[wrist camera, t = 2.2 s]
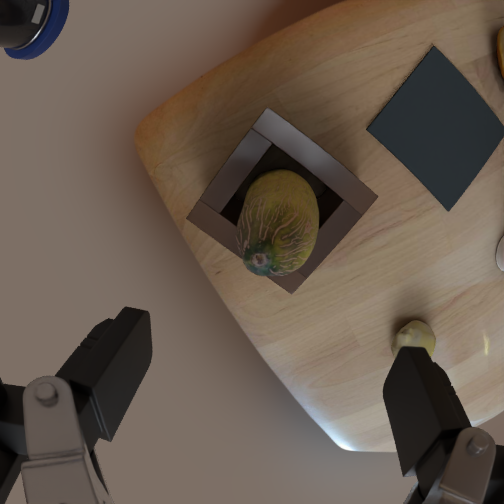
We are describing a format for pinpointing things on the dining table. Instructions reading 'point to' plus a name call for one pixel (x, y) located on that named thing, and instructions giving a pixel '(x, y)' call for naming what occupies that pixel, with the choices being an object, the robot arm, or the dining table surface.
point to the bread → (500, 50)
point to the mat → (439, 128)
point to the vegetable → (277, 223)
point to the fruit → (414, 337)
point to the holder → (310, 157)
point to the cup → (500, 254)
